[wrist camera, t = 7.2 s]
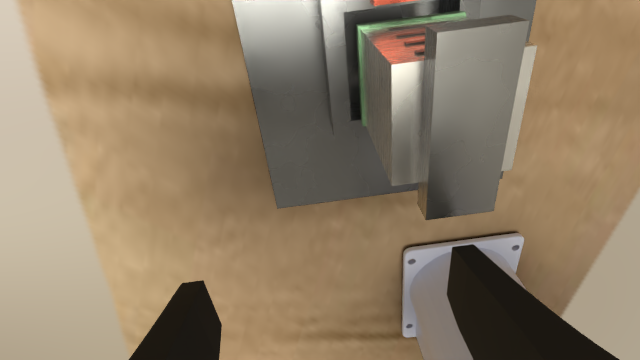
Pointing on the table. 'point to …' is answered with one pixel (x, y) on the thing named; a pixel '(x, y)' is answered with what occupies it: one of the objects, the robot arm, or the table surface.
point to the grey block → (445, 103)
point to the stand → (326, 89)
